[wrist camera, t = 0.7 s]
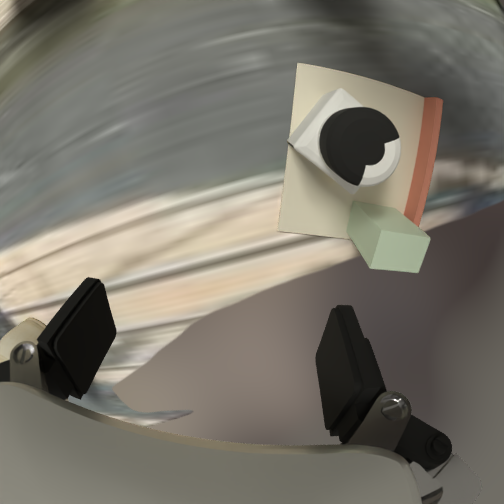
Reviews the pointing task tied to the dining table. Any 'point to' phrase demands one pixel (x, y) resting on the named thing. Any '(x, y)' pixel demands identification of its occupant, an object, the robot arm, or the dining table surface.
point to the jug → (20, 336)
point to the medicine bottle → (348, 141)
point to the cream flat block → (340, 201)
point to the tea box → (386, 238)
